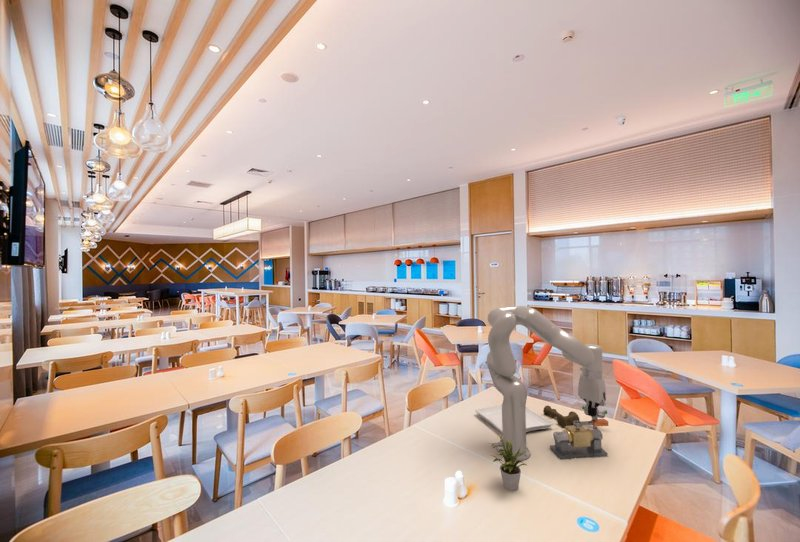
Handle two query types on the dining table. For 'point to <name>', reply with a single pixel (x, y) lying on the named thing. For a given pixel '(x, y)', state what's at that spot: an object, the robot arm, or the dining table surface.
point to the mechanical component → (596, 415)
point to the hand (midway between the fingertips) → (592, 415)
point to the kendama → (561, 416)
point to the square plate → (495, 418)
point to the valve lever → (591, 423)
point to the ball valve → (578, 443)
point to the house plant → (509, 466)
